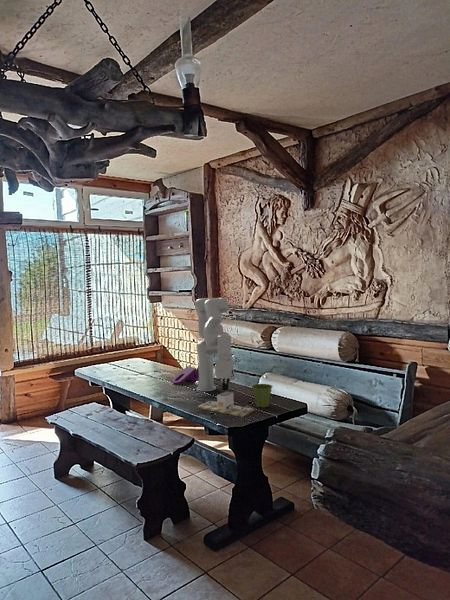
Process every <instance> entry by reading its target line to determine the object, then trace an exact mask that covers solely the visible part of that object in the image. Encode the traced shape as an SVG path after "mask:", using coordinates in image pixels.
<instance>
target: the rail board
mask: <svg viewBox="0 0 450 600" xmlns="http://www.w3.org/2000/svg"><path fill="white" fill-rule="evenodd" d="M210 401H211V402H216V401H213V400H210ZM234 406H238V407H243V408H247V411H245V412H240V411H235V410H230V409H226V410H221V409H217V407H214V406H209V405H205V402H203V403H202V404H199V405H197V408H198V409H203V410H206V411H211V412H217V413H222V414H227V415H231V416H235V417H242V418H243V417H246V416H248V415H249V414H251V413H253V412H255V411H256V410H255V408H251V407H247V406H240V405H235V404H234Z"/></svg>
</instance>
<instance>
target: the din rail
mask: <svg viewBox="0 0 450 600" xmlns="http://www.w3.org/2000/svg"><path fill="white" fill-rule="evenodd" d="M211 401H212V400H209V401H206V402H205V401H204V403H205V405H209V406H214V407H217V401H215V402H211ZM238 406H239V405H236V406H232V405H229V406H227V407H226V409H230V410H235V411H240V412H245V411H247V408H248V407H247V408H243V407H244V406H241V407H238Z"/></svg>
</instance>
